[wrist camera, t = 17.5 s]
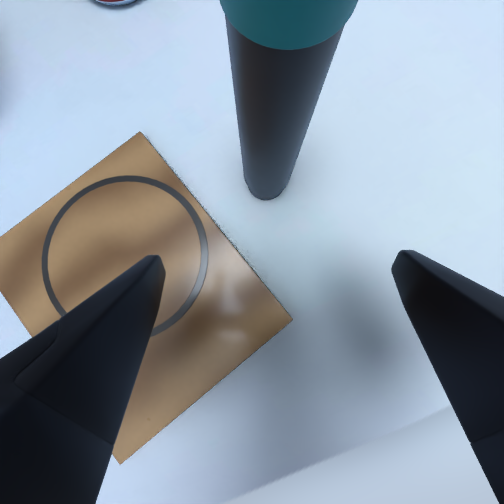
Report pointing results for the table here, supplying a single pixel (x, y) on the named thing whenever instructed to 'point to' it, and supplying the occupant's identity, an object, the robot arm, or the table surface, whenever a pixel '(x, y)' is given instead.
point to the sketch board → (126, 255)
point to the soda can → (115, 2)
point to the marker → (279, 79)
